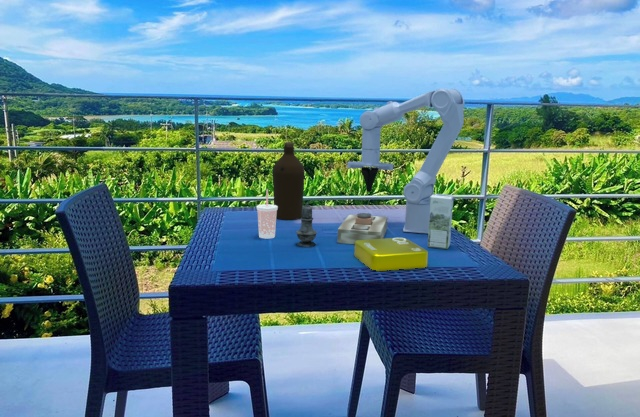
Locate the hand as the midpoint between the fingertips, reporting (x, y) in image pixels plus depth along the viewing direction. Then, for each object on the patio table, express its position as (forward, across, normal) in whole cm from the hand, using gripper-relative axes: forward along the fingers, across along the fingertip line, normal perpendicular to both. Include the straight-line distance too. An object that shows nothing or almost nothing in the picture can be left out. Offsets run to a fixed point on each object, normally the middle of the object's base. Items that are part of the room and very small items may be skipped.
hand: (369, 191), depth 183 cm
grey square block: (+10, +1, -18) cm, 21 cm away
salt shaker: (+11, -13, -32) cm, 36 cm away
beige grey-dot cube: (+8, +1, -18) cm, 20 cm away
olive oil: (+11, -27, 0) cm, 29 cm away
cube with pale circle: (+10, +1, -24) cm, 27 cm away
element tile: (+11, +11, -41) cm, 44 cm away
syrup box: (+11, +23, -23) cm, 34 cm away
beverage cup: (+11, -26, -27) cm, 39 cm away
